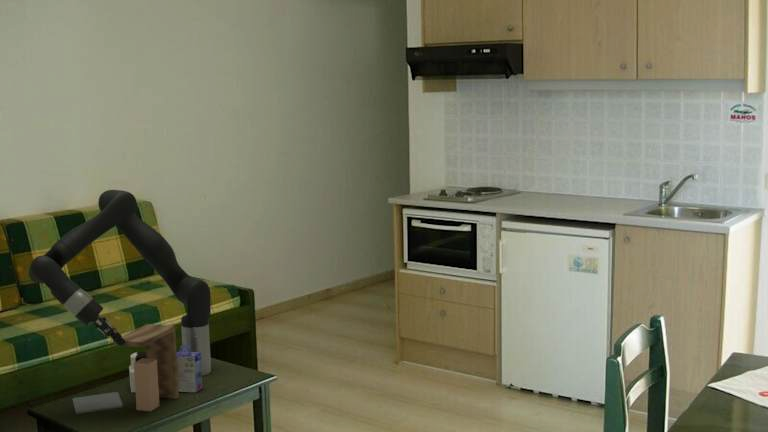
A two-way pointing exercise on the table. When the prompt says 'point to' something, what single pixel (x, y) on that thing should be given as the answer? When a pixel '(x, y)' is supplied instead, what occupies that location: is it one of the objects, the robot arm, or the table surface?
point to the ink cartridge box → (189, 370)
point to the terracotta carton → (146, 384)
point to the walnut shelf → (158, 354)
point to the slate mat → (97, 402)
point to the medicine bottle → (134, 358)
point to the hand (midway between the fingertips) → (123, 343)
